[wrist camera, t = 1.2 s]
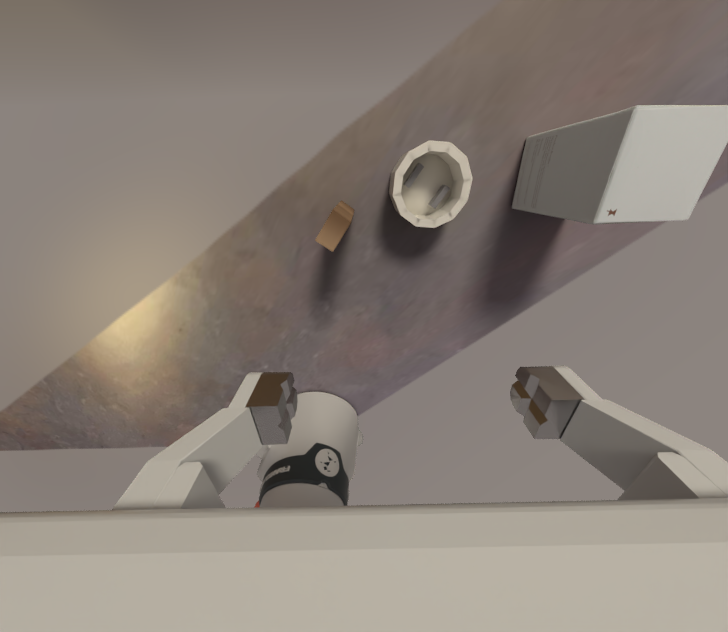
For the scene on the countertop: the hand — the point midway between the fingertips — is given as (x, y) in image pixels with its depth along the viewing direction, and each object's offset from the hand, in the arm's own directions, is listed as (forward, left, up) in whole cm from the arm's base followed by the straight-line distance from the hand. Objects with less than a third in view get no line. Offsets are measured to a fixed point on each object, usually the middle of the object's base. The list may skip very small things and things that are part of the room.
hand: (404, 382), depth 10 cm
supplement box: (+17, -12, -26) cm, 33 cm away
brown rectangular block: (0, +5, -26) cm, 26 cm away
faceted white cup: (+8, -1, -26) cm, 27 cm away
